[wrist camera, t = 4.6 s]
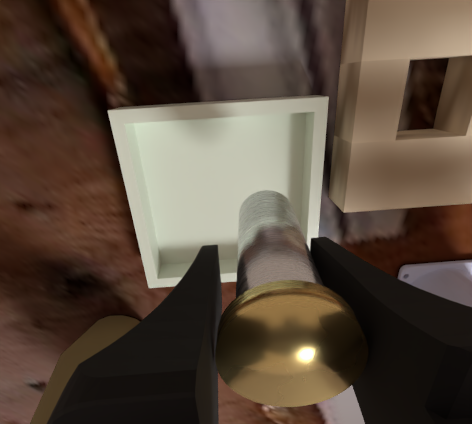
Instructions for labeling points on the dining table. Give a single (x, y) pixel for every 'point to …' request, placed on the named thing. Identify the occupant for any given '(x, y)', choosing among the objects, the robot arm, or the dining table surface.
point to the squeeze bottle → (80, 359)
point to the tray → (215, 173)
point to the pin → (284, 316)
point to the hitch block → (390, 102)
